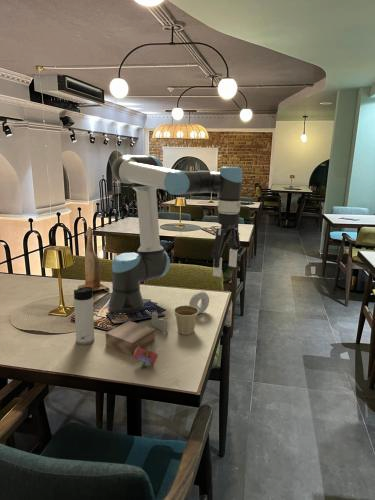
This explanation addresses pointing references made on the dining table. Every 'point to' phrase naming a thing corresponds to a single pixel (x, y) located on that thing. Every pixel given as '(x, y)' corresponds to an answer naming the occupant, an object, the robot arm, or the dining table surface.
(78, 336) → the travel mug
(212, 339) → the dining table surface
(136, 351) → the geometric puzzle
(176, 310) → the flower pot
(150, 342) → the walnut block
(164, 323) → the grey tape dispenser
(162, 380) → the dining table surface
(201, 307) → the donut
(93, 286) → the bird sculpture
